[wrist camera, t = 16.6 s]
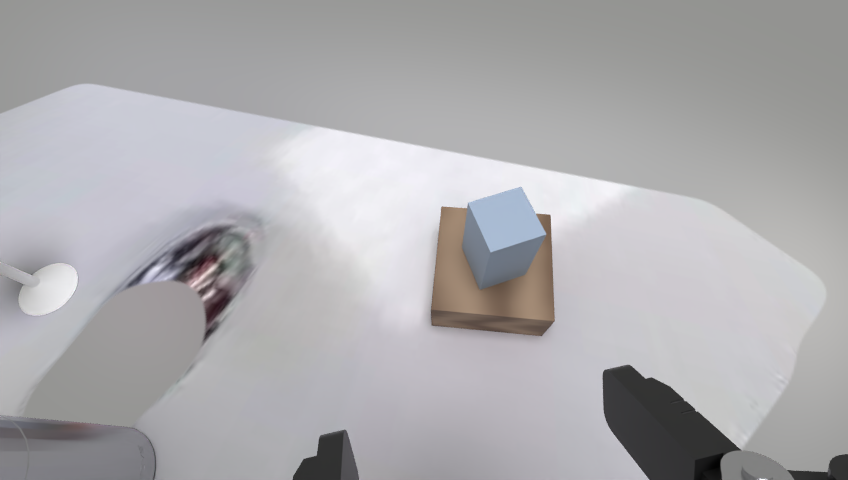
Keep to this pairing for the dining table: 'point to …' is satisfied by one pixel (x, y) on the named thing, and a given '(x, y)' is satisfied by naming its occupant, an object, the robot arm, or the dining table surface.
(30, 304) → the champagne flute
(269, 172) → the dining table surface
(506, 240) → the slate blue pillar block
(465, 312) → the walnut block
